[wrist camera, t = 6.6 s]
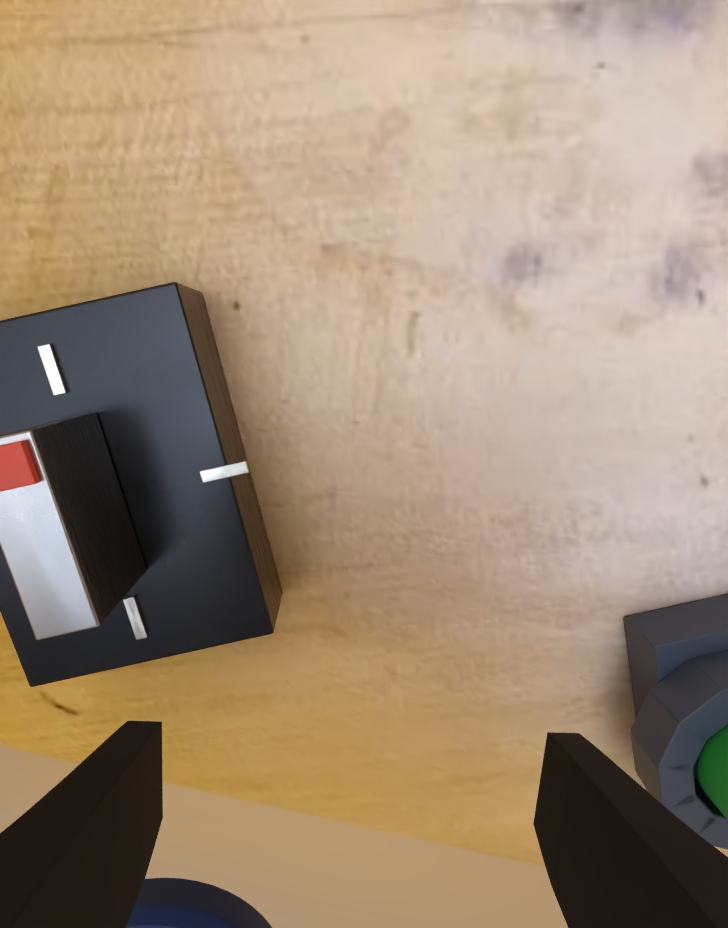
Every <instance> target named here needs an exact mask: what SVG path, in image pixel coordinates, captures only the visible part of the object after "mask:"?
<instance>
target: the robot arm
mask: <svg viewBox="0 0 728 928" xmlns="http://www.w3.org/2000/svg"><path fill="white" fill-rule="evenodd" d="M162 814H163V810H162V722H150V721H127V722H126V723H125V724H124V725H122V726H121V727H120V728H119V729H118V730H117V731H116V732H114V733H113V734H112V735H111V736H110V737H109V738H108V739H107V740H106V741H105V742H104V743H102V744H101V745H100V746H99V747H98V748H97V749H96V750H95V751H94V752H93V753H92V754H91V755H89V756H88V757H87V758H86V759H85V760H84V761H83V762H82V763H81V764H80V765H79V766H77V767H76V768H75V769H74V770H73V771H72V772H71V773H70V774H69V775H68V776H67V777H65V778H64V779H63V780H62V781H61V782H60V783H59V784H58V785H56V786H55V787H54V788H53V789H52V790H51V791H50V792H48V793H47V794H46V795H45V796H44V797H43V798H42V799H40V800H39V801H38V802H37V803H36V804H35V805H34V806H32V808H30V809H29V810H28V811H27V812H26V813H24V814H23V815H22V816H21V817H20V818H19V819H17V820H16V821H15V822H14V823H13V824H12V825H10V826H9V827H8V828H6V829H5V830H4V831H3V832H1V833H0V928H125V927H126V925H127V922H128V920H129V917H130V915H131V912H132V910H133V907H134V905H135V902H136V900H137V897H138V895H139V892H140V890H141V887H142V885H143V882H144V879H145V876H146V872H147V869H148V866H149V862H150V859H151V856H152V853H153V849H154V846H155V842H156V839H157V835H158V832H159V828H160V825H161V821H162V818H163V815H162ZM534 827H535V831H536V834H537V838H538V841H539V845H540V849H541V852H542V856H543V859H544V862H545V866H546V869H547V872H548V875H549V879H550V882H551V885H552V888H553V890H554V893H555V896H556V898H557V901H558V903H559V905H560V908H561V910H562V913H563V915H564V918H565V920H566V923H567V925H568V928H728V857H727V856H725V855H724V854H723V853H721V852H720V851H719V850H718V849H716V848H715V847H714V846H712V845H711V844H710V843H709V842H707V841H706V840H705V839H704V838H702V837H701V836H700V835H699V834H697V833H696V832H695V831H694V830H693V829H691V828H690V827H689V826H688V825H686V824H685V823H684V822H683V821H682V820H680V819H679V818H678V817H677V816H676V815H674V814H673V813H672V812H671V811H670V810H668V809H667V808H666V807H665V806H664V805H662V804H661V803H660V802H659V801H658V800H657V799H655V798H654V797H653V796H652V795H651V794H650V793H648V792H647V791H646V790H645V789H644V788H643V787H641V786H640V785H639V784H638V783H637V782H636V781H635V780H633V779H632V778H631V777H630V776H629V775H628V774H626V773H625V772H624V771H623V770H622V769H621V768H620V767H618V766H617V765H616V764H615V763H614V762H613V761H611V760H610V759H609V758H608V757H607V756H606V755H605V754H603V753H602V752H601V751H600V750H599V749H598V748H596V747H595V746H594V745H593V744H592V743H590V742H589V741H588V740H587V739H585V738H584V737H583V736H582V735H580V734H579V733H547V740H546V746H545V753H544V759H543V766H542V772H541V779H540V786H539V792H538V799H537V805H536V812H535V818H534Z"/></svg>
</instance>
